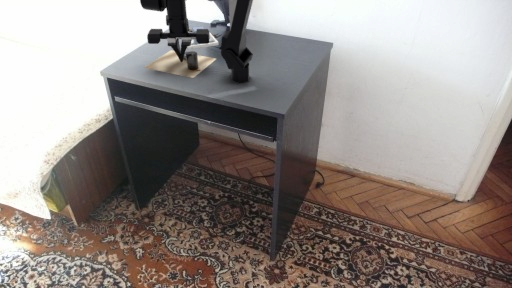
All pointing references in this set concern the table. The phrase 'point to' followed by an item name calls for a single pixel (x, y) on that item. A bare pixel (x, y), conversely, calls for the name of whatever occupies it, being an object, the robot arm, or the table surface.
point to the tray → (204, 44)
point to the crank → (191, 60)
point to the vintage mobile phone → (232, 10)
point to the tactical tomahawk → (211, 33)
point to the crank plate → (179, 64)
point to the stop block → (195, 32)
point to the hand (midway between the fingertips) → (181, 61)
